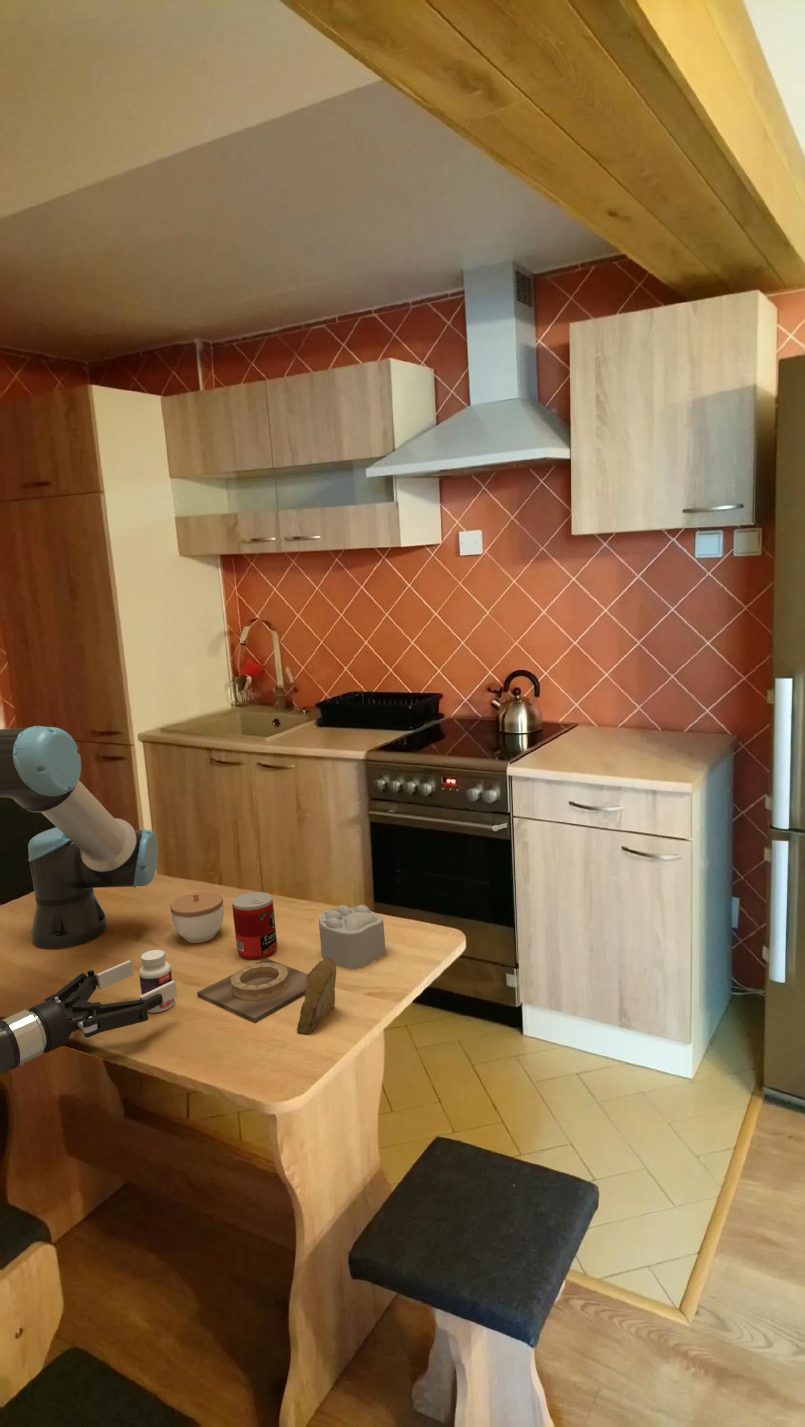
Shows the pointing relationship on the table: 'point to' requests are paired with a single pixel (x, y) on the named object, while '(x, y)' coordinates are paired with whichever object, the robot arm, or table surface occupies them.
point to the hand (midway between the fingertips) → (152, 977)
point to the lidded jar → (198, 915)
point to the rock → (318, 995)
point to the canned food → (254, 925)
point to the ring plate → (256, 1006)
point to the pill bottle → (155, 975)
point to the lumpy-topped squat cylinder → (352, 936)
